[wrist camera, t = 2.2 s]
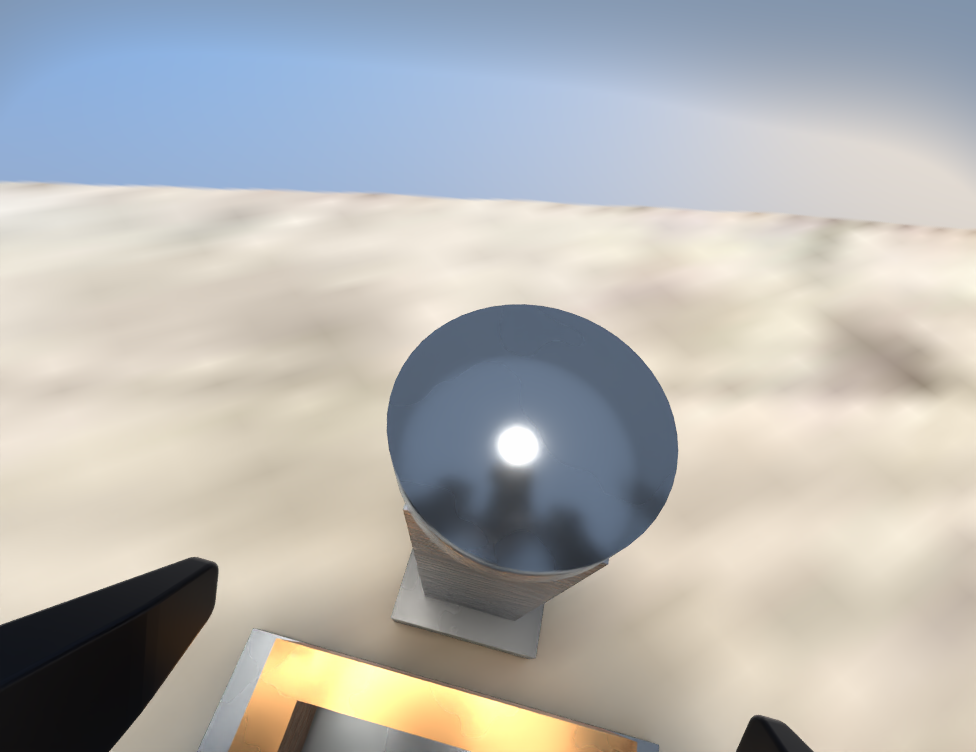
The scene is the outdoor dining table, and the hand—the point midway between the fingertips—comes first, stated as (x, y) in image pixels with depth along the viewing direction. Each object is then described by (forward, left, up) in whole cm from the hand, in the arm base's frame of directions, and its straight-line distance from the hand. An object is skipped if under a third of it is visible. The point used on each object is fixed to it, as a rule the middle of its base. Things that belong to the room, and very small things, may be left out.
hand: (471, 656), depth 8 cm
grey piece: (+3, -2, -10) cm, 11 cm away
